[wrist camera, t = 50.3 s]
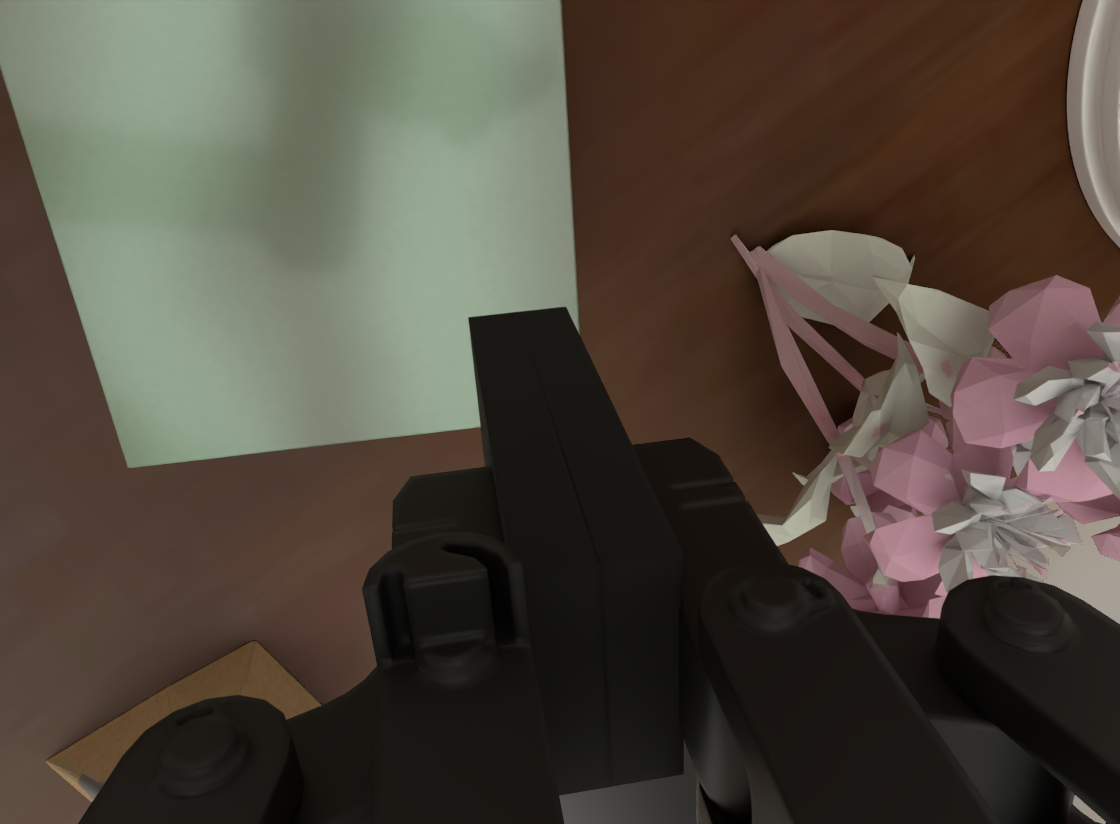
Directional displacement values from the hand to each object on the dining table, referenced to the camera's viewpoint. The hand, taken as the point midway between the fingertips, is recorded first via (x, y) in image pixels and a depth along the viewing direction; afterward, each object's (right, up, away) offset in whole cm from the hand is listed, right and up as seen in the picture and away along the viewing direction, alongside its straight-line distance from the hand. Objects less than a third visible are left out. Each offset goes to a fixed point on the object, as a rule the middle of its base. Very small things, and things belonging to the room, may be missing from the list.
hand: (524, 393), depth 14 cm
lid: (-7, +7, +14) cm, 17 cm away
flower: (+17, +2, +37) cm, 40 cm away
